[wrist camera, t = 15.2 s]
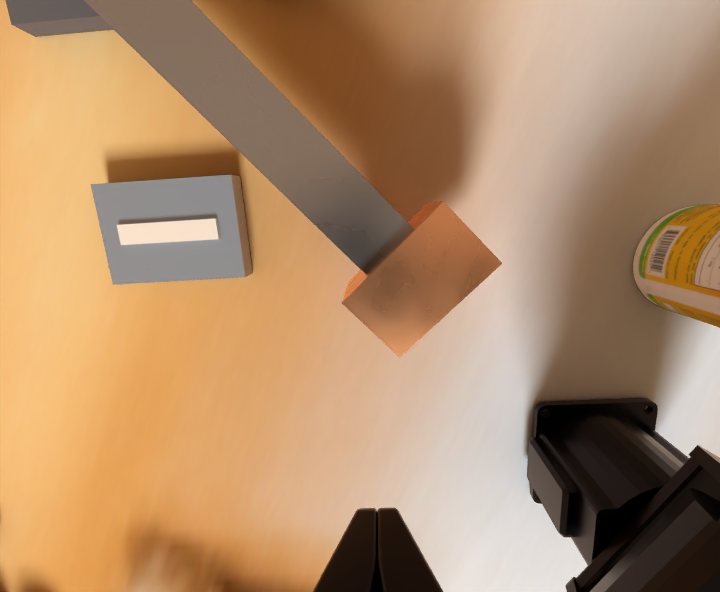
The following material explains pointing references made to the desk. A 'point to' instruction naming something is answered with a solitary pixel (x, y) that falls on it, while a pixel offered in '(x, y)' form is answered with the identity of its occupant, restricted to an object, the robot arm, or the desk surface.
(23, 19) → the pivot base
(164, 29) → the swing arm
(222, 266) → the label tile
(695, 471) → the robot arm
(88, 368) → the desk surface
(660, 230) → the supplement bottle
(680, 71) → the desk surface
